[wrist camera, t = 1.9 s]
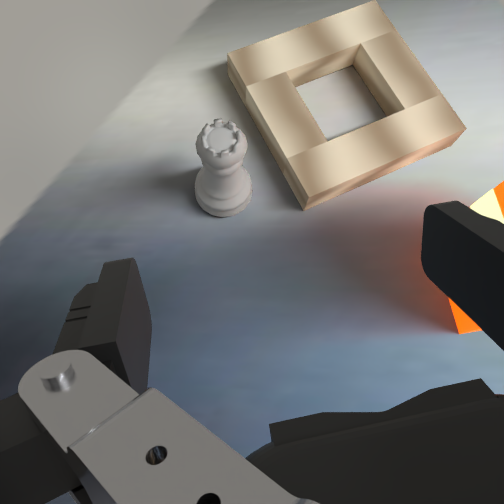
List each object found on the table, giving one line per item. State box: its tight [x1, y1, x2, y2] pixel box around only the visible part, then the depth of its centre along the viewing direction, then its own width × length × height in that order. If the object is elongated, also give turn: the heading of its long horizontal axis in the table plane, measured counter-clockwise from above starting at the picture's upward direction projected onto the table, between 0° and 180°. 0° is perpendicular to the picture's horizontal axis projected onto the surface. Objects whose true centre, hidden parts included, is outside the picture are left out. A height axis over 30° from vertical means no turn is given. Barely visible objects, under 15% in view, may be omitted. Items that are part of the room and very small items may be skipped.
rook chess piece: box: [195, 118, 252, 217], centre depth 30 cm, size 4×4×8 cm
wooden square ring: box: [227, 0, 467, 211], centre depth 36 cm, size 14×14×2 cm
